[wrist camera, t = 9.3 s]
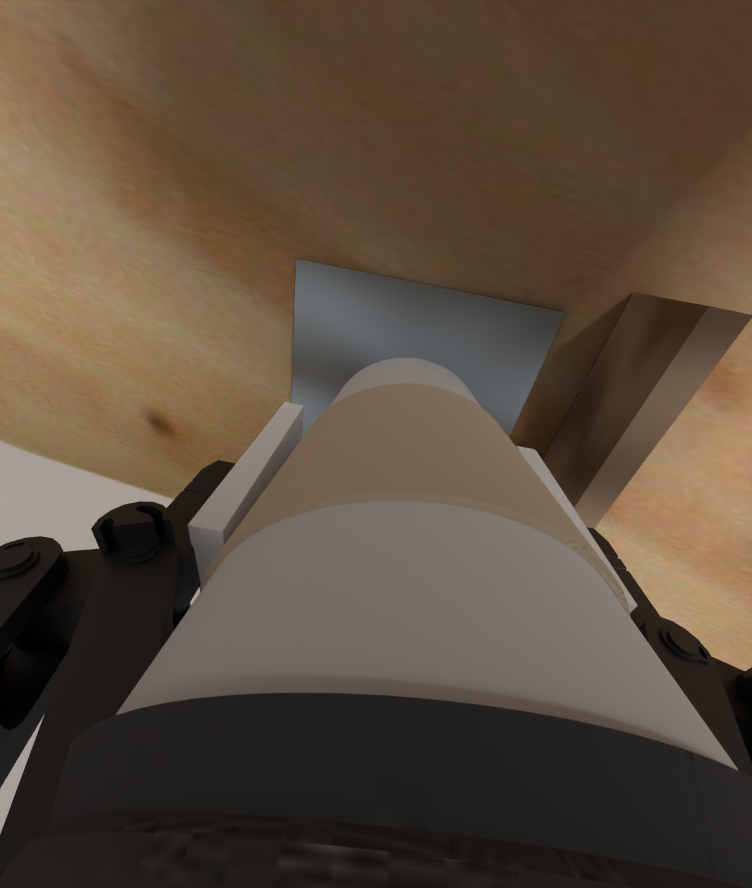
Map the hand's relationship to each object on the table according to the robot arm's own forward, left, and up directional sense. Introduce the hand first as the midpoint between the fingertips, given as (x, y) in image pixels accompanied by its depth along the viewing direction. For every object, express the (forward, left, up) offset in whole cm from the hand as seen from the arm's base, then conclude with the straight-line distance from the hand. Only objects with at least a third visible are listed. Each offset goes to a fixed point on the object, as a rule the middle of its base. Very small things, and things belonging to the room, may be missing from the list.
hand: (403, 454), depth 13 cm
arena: (0, +2, -5) cm, 5 cm away
